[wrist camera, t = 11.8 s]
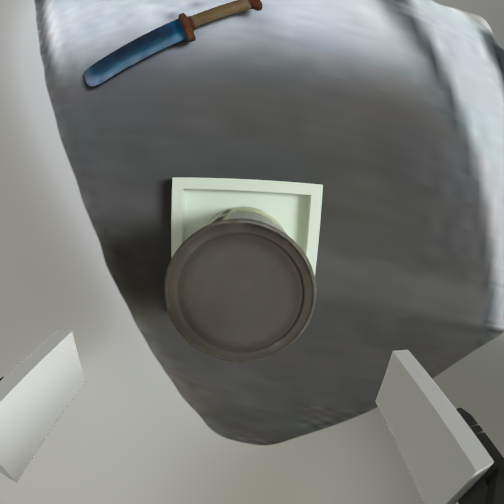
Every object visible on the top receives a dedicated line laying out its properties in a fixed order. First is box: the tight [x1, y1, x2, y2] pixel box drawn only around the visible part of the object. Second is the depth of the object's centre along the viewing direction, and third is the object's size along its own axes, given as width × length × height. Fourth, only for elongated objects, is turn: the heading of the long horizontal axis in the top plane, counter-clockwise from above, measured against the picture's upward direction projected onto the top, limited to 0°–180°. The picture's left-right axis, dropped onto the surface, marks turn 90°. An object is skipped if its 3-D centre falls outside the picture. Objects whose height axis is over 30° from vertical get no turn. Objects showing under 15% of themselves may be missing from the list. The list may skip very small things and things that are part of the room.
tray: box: [171, 178, 323, 324], centre depth 32 cm, size 16×16×2 cm
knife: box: [84, 0, 262, 86], centre depth 26 cm, size 24×3×5 cm
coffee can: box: [164, 206, 316, 362], centre depth 26 cm, size 10×10×14 cm
